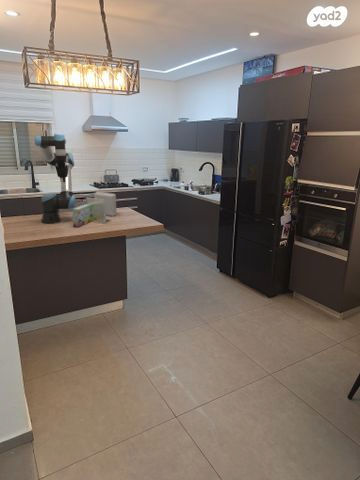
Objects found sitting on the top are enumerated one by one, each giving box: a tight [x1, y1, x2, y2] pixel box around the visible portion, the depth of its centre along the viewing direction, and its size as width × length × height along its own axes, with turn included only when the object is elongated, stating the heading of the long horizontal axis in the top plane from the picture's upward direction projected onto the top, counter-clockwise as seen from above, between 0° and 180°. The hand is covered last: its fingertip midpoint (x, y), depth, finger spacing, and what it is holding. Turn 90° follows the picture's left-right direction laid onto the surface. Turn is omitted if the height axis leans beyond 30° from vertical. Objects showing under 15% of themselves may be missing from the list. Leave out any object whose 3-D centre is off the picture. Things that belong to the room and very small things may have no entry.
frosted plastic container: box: [85, 197, 111, 224], centre depth 281 cm, size 18×9×20 cm, turn 66°
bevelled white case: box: [93, 191, 117, 217], centre depth 303 cm, size 21×8×20 cm, turn 65°
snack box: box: [71, 203, 92, 228], centre depth 270 cm, size 21×6×15 cm, turn 167°
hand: (63, 186), depth 255 cm, fingers closed
